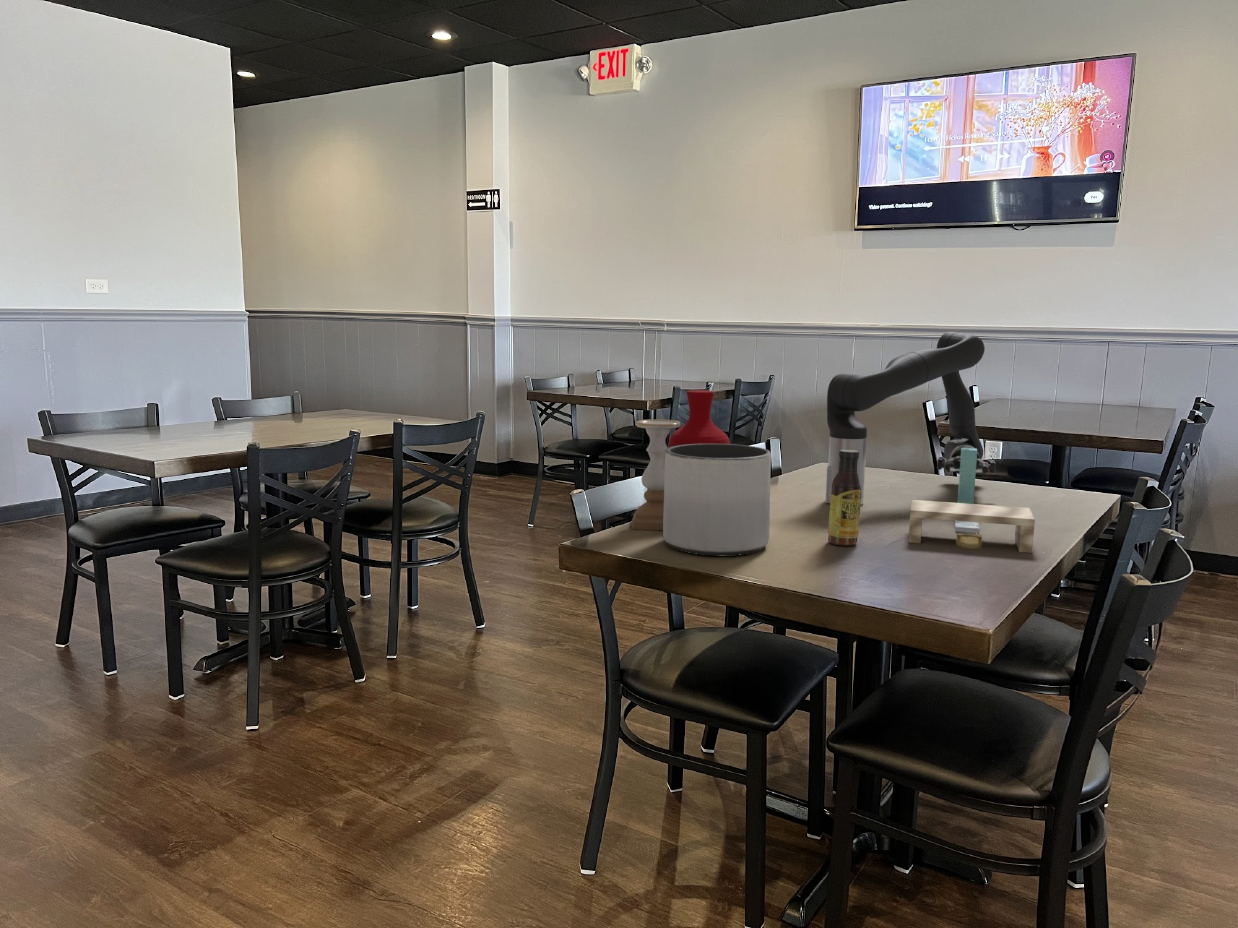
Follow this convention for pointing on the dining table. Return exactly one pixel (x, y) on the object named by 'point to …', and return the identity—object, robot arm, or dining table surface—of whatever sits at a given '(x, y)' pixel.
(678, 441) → the vase
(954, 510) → the plinth shelf
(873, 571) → the dining table surface
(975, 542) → the block
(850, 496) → the sauce bottle
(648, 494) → the candle holder
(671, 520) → the planter
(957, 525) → the bar
